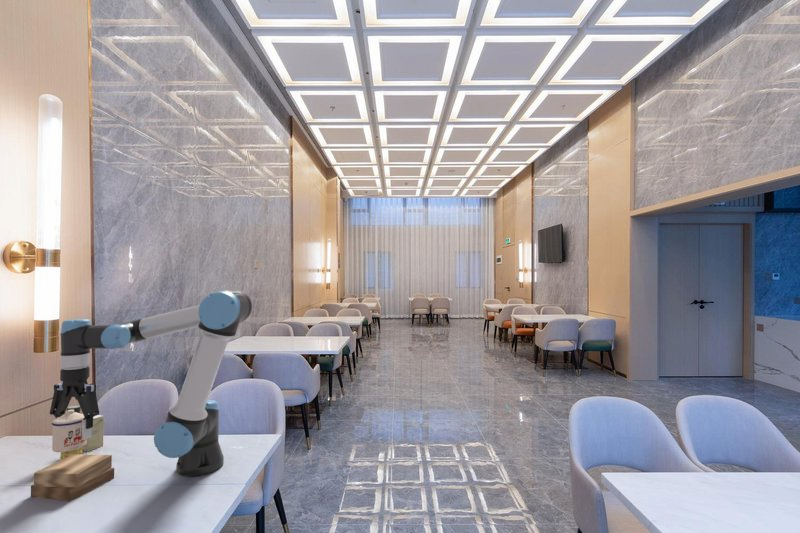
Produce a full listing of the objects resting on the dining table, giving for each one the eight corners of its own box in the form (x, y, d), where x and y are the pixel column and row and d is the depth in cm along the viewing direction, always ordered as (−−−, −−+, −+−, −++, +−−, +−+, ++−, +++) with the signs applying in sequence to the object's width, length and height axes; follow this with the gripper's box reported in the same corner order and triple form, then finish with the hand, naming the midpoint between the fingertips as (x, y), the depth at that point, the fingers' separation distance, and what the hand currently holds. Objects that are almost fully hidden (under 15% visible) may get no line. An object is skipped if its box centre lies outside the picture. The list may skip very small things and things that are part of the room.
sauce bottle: (64, 467, 150) (65, 410, 150) (57, 463, 153) (58, 408, 154) (85, 460, 155) (86, 405, 156) (78, 456, 159) (79, 403, 159)
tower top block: (111, 467, 142) (111, 455, 142) (77, 487, 128) (77, 474, 128) (72, 466, 143) (72, 454, 143) (33, 486, 129) (33, 473, 129)
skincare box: (87, 451, 163) (88, 420, 163) (79, 450, 165) (80, 419, 165) (103, 445, 169) (104, 415, 169) (96, 444, 170) (96, 414, 171)
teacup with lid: (64, 454, 128) (65, 415, 129) (43, 451, 131) (44, 413, 131) (103, 440, 140) (103, 404, 140) (83, 437, 142) (83, 402, 143)
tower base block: (114, 480, 141) (114, 467, 141) (70, 503, 126) (70, 489, 126) (77, 476, 144) (77, 464, 144) (30, 498, 129) (30, 485, 129)
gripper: (113, 365, 138) (112, 435, 137) (58, 363, 142) (57, 431, 141) (93, 370, 130) (91, 444, 130) (35, 368, 135) (34, 439, 134)
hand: (74, 437), depth 135 cm, fingers closed on teacup with lid, 9 cm apart
